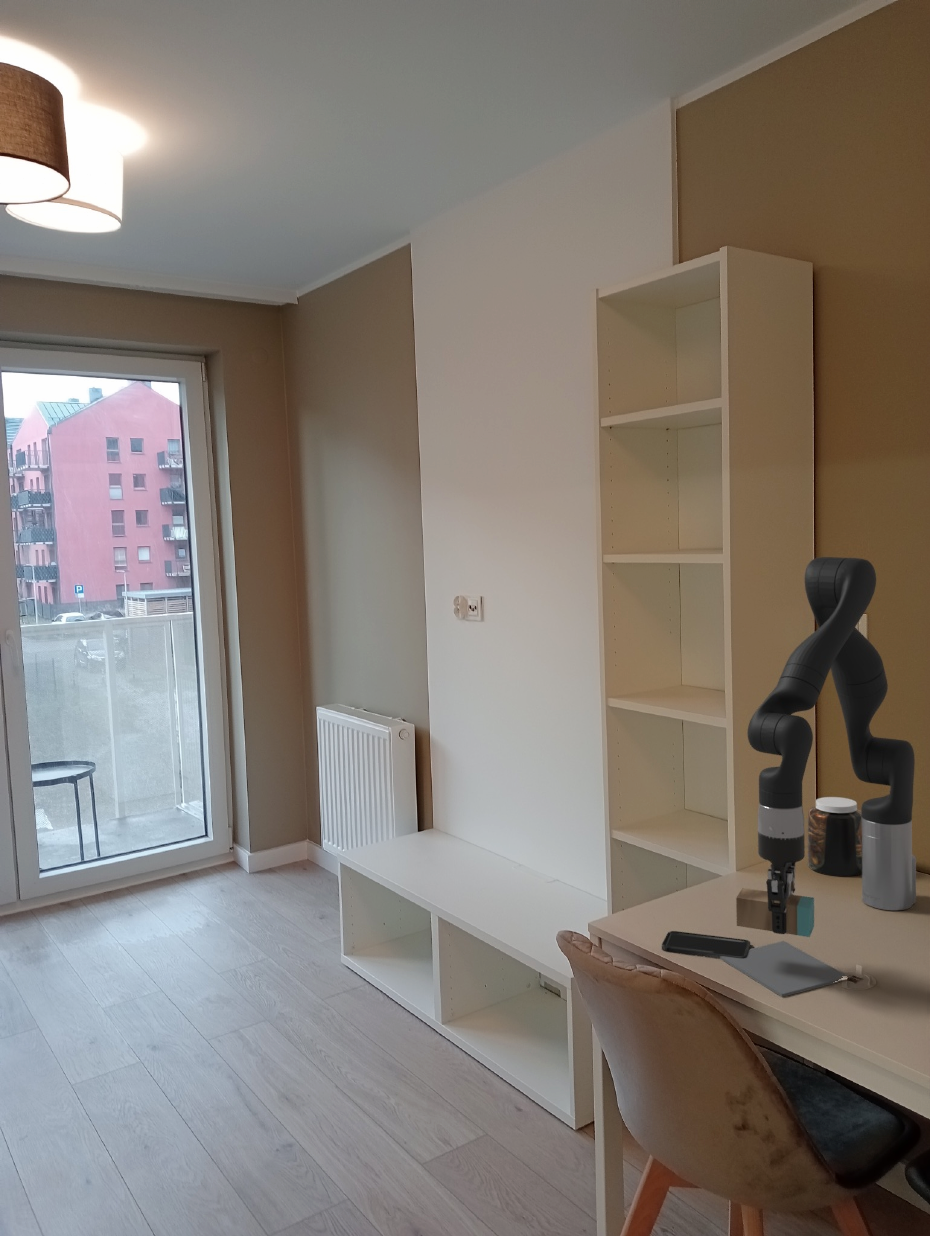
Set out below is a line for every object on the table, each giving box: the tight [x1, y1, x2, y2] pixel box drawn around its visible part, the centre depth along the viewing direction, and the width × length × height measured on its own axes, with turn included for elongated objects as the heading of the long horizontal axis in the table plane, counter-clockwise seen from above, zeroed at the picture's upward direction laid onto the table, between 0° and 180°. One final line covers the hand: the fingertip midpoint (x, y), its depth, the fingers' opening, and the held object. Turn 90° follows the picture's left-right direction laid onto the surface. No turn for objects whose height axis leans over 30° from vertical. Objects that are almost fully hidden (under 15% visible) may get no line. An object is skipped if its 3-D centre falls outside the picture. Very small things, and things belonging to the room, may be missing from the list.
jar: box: [807, 796, 862, 877], centre depth 212 cm, size 12×12×15 cm
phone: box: [661, 930, 751, 960], centre depth 174 cm, size 8×1×15 cm
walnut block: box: [735, 887, 815, 938], centre depth 164 cm, size 5×5×12 cm
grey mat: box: [720, 940, 850, 998], centre depth 165 cm, size 14×16×1 cm
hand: (782, 926), depth 164 cm, fingers closed on walnut block, 5 cm apart
